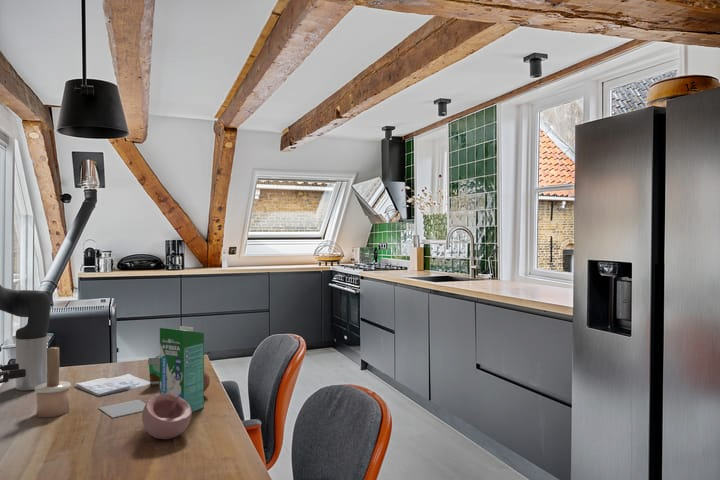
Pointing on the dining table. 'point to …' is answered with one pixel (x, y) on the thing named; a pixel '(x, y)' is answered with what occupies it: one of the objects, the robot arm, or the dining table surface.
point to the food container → (154, 371)
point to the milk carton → (182, 365)
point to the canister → (52, 404)
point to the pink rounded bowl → (166, 416)
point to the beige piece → (53, 374)
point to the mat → (123, 408)
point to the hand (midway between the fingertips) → (21, 369)
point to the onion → (206, 380)
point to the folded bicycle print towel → (112, 384)
